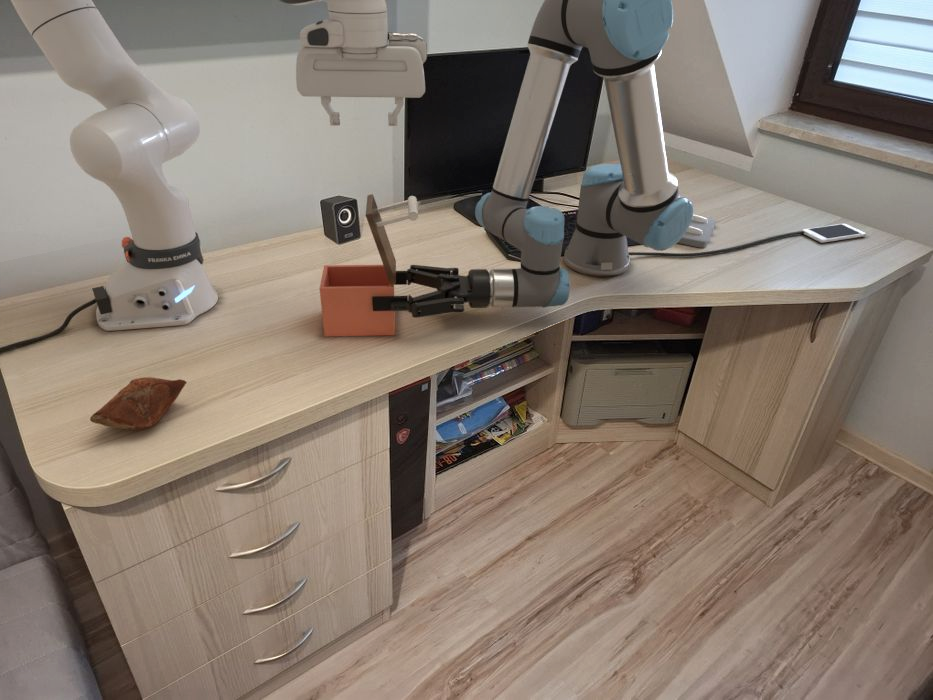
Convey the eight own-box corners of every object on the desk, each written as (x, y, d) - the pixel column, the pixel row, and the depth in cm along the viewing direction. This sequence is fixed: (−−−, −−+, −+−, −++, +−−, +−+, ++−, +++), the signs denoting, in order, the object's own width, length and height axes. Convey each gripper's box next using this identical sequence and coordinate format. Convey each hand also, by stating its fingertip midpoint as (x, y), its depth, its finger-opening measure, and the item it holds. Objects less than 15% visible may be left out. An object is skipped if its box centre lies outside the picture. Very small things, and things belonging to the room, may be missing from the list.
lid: (365, 215, 109) (413, 201, 108) (367, 195, 117) (412, 182, 116) (390, 285, 117) (435, 273, 116) (390, 262, 125) (432, 251, 124)
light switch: (708, 237, 159) (646, 224, 164) (705, 248, 160) (644, 236, 166) (717, 213, 172) (660, 202, 178) (714, 224, 174) (658, 213, 179)
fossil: (192, 375, 104) (155, 351, 95) (202, 420, 100) (164, 400, 91) (121, 406, 104) (76, 386, 95) (128, 452, 100) (83, 436, 91)
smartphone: (800, 232, 171) (801, 229, 171) (843, 226, 176) (844, 222, 176) (821, 243, 166) (822, 239, 165) (865, 236, 171) (866, 232, 170)
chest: (324, 336, 121) (319, 288, 116) (328, 311, 129) (324, 265, 123) (395, 335, 123) (393, 287, 117) (395, 310, 131) (393, 264, 125)
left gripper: (426, 30, 101) (426, 120, 109) (294, 27, 99) (304, 119, 107) (427, 36, 96) (428, 130, 103) (288, 33, 94) (299, 129, 101)
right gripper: (495, 335, 117) (372, 338, 115) (481, 279, 136) (375, 281, 133) (497, 299, 113) (370, 301, 111) (483, 246, 131) (373, 248, 129)
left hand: (364, 124), depth 105 cm, fingers open, 8 cm apart
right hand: (373, 290), depth 122 cm, fingers closed on chest, 9 cm apart
